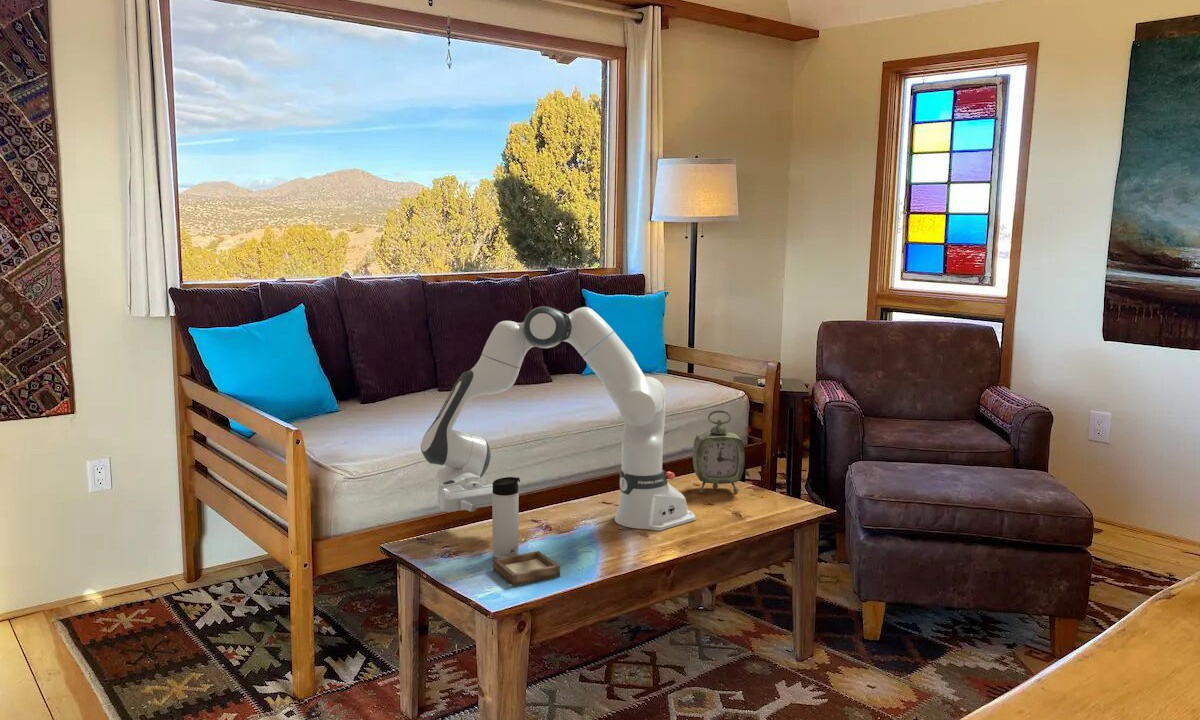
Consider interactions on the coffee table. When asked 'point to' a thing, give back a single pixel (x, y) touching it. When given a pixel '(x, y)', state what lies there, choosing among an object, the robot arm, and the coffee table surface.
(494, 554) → the travel mug
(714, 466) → the tabletop clock
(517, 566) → the tray
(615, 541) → the coffee table surface
